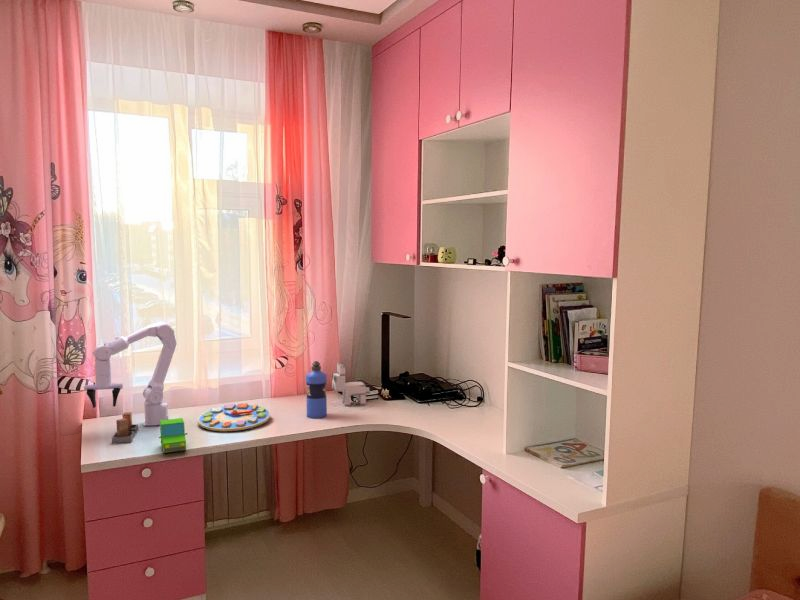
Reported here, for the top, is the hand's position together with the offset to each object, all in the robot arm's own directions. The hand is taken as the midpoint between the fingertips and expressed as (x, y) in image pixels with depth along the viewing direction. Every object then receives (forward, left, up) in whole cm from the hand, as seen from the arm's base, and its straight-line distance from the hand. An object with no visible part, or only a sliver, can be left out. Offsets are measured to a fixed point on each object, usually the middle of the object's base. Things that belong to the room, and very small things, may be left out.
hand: (104, 406), depth 252 cm
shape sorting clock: (-52, 0, -11) cm, 53 cm away
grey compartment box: (-10, +10, -10) cm, 17 cm away
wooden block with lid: (-9, +15, -9) cm, 20 cm away
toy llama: (-107, -18, -11) cm, 109 cm away
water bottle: (-88, -1, -11) cm, 89 cm away
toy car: (-30, +31, -11) cm, 44 cm away
